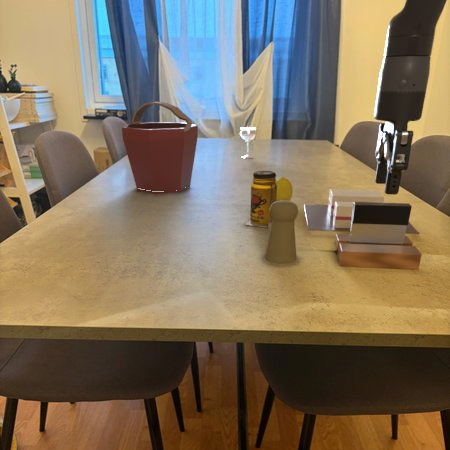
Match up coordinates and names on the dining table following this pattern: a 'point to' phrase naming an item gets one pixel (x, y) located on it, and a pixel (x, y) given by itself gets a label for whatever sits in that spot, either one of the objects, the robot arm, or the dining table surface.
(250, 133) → the wineglass
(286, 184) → the lemon
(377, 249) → the wooden card holder
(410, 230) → the cake board
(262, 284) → the dining table surface
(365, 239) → the black and beige panel
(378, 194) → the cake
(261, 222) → the condiment
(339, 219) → the cake slice
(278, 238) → the cork
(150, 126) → the bucket
